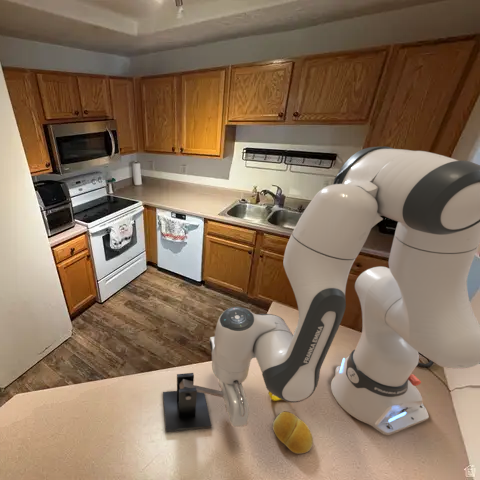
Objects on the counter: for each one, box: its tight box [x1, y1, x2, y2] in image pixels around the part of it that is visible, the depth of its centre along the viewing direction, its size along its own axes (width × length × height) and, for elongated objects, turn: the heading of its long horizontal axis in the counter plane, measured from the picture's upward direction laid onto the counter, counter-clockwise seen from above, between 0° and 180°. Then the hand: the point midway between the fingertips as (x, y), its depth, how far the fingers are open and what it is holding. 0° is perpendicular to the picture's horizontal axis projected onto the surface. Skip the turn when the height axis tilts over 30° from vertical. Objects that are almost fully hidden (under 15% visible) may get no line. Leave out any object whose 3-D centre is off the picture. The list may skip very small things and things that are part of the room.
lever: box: [179, 379, 225, 402], centre depth 68 cm, size 14×5×2 cm, turn 95°
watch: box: [268, 391, 283, 402], centre depth 73 cm, size 6×3×6 cm, turn 97°
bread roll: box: [271, 411, 314, 454], centre depth 65 cm, size 8×9×4 cm
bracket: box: [162, 372, 212, 433], centre depth 69 cm, size 12×10×13 cm
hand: (225, 396), depth 70 cm, fingers closed on lever, 5 cm apart
